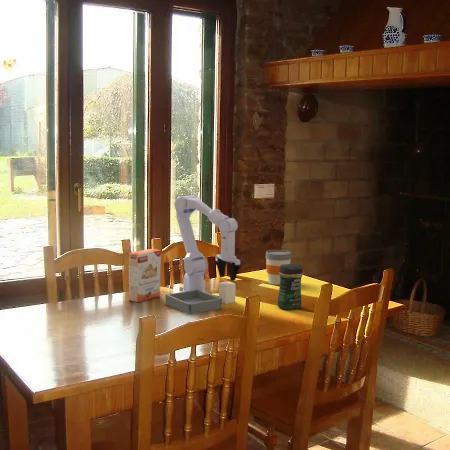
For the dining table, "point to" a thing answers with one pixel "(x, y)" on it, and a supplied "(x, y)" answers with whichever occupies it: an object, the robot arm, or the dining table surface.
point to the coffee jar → (290, 286)
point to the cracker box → (144, 275)
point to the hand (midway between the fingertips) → (227, 278)
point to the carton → (227, 292)
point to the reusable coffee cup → (276, 264)
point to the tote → (193, 301)
